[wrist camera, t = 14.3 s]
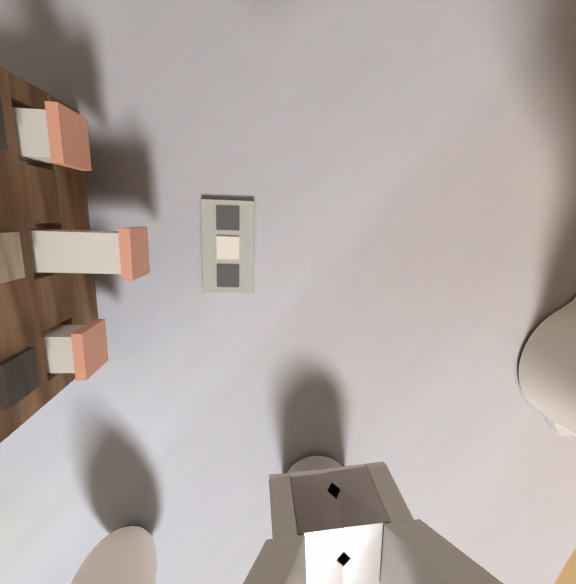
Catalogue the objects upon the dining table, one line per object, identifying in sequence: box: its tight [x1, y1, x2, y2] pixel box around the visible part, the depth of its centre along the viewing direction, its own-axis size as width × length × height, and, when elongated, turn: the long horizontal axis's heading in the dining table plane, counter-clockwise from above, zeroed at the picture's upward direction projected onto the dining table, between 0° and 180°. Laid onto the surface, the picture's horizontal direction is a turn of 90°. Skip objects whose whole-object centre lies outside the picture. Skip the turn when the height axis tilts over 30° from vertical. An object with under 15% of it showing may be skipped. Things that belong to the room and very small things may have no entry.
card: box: [201, 199, 254, 293], centre depth 33 cm, size 5×9×1 cm, turn 178°
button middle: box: [28, 227, 150, 281], centre depth 26 cm, size 9×4×4 cm, turn 88°
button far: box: [42, 319, 108, 380], centre depth 27 cm, size 9×4×4 cm, turn 88°
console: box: [0, 67, 98, 443], centre depth 25 cm, size 6×23×14 cm, turn 178°
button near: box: [12, 101, 92, 171], centre depth 24 cm, size 9×4×4 cm, turn 88°
